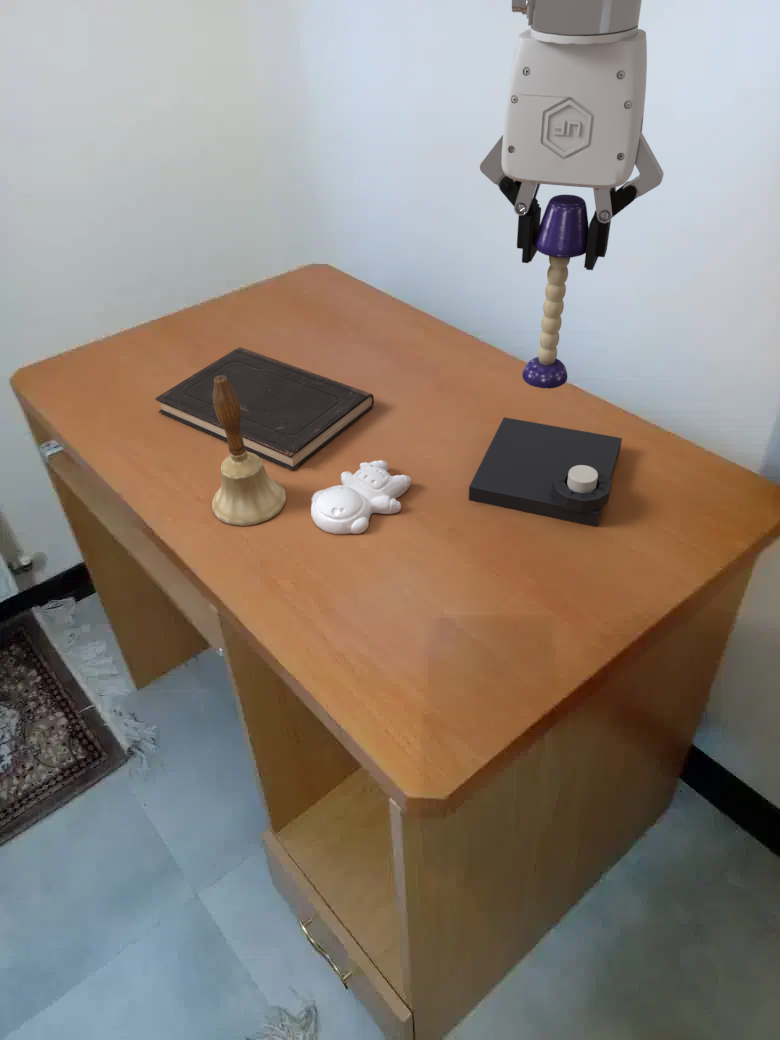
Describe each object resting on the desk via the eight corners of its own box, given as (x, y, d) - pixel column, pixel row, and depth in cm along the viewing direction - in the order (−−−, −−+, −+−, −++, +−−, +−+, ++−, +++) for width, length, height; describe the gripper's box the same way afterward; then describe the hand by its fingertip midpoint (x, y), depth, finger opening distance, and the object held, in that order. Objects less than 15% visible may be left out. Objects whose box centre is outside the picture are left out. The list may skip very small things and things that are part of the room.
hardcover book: (293, 471, 92) (290, 455, 90) (159, 413, 102) (155, 397, 101) (374, 406, 101) (373, 391, 100) (244, 359, 112) (241, 344, 110)
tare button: (598, 479, 83) (600, 467, 82) (593, 496, 81) (595, 485, 80) (570, 474, 84) (571, 462, 83) (564, 490, 82) (565, 479, 81)
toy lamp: (546, 359, 78) (562, 185, 67) (583, 377, 75) (607, 198, 64) (512, 377, 76) (524, 200, 65) (550, 396, 73) (568, 214, 62)
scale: (623, 451, 92) (628, 426, 90) (600, 530, 82) (605, 505, 80) (502, 429, 96) (504, 405, 94) (467, 502, 86) (468, 477, 84)
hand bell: (249, 536, 84) (221, 409, 73) (196, 508, 88) (162, 384, 77) (301, 495, 89) (282, 370, 78) (249, 469, 92) (223, 348, 82)
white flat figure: (427, 497, 87) (426, 476, 85) (339, 546, 82) (336, 525, 80) (378, 461, 93) (377, 440, 91) (293, 505, 87) (289, 484, 85)
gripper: (454, 18, 56) (452, 267, 68) (707, 22, 51) (656, 290, 63) (483, 0, 61) (477, 234, 73) (715, 2, 56) (667, 253, 68)
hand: (560, 258), depth 68 cm, fingers closed on toy lamp, 4 cm apart
